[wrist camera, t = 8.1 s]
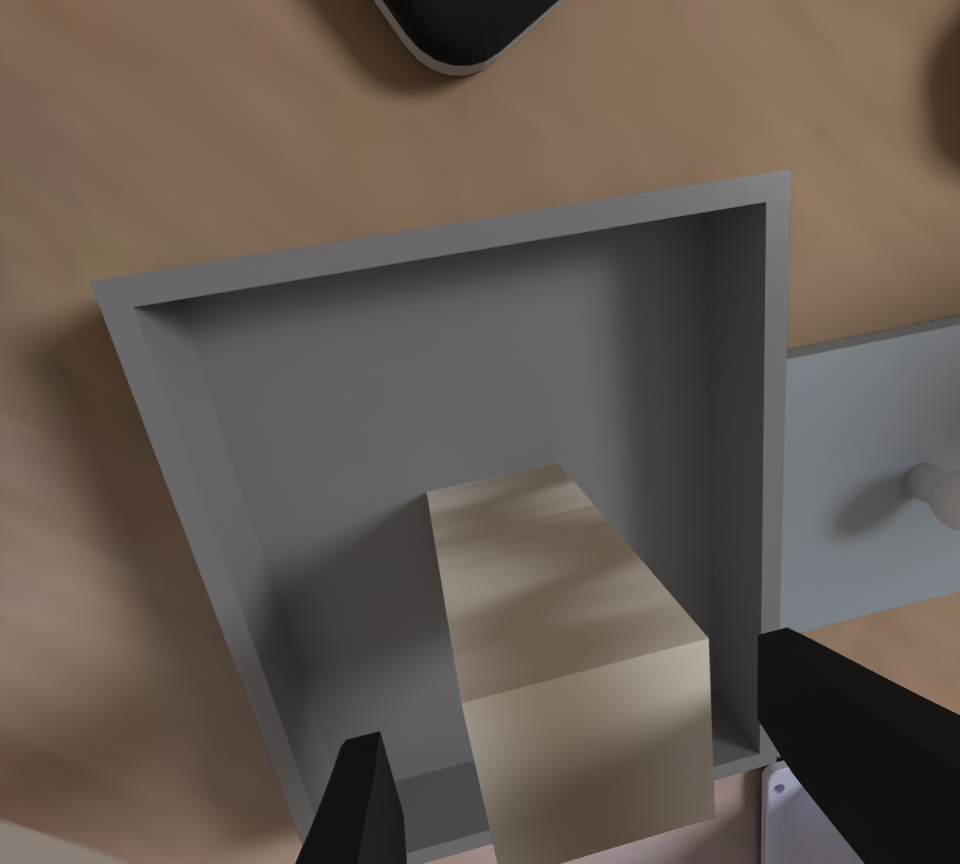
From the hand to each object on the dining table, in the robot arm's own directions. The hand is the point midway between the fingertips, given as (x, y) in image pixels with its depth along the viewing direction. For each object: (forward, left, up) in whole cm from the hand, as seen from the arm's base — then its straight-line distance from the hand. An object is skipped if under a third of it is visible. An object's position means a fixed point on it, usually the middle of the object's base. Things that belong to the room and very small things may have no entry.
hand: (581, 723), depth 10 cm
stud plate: (-1, -14, -8) cm, 16 cm away
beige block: (0, 0, -7) cm, 7 cm away
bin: (0, 0, -8) cm, 8 cm away
